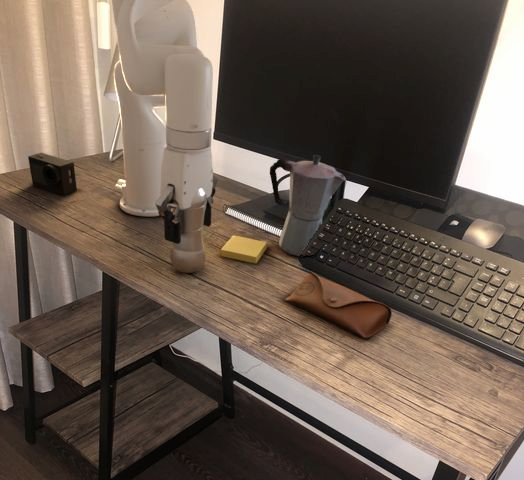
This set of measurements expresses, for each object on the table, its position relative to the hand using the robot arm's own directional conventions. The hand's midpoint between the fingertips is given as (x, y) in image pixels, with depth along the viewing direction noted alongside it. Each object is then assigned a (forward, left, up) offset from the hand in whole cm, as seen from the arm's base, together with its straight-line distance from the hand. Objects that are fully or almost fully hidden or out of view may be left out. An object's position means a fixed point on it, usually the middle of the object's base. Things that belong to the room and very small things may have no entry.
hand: (188, 232), depth 103 cm
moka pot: (+13, +22, -8) cm, 27 cm away
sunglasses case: (+30, +3, -8) cm, 31 cm away
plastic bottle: (0, 0, -8) cm, 8 cm away
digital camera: (-49, +13, -8) cm, 52 cm away
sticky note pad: (+5, +13, -8) cm, 16 cm away
